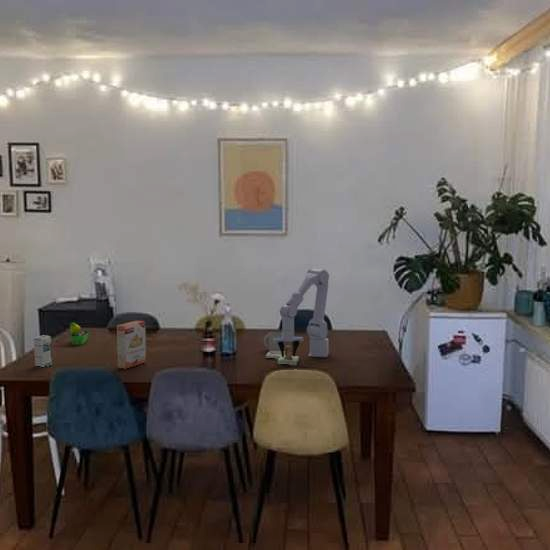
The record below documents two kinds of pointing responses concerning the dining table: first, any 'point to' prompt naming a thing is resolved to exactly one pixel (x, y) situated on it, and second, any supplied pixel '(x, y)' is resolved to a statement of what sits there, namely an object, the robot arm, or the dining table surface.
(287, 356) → the peg
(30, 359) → the dining table surface
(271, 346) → the cup
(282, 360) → the holder
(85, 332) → the fruit basket
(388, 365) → the dining table surface
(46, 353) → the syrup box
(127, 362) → the cracker box
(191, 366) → the dining table surface
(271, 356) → the tray
